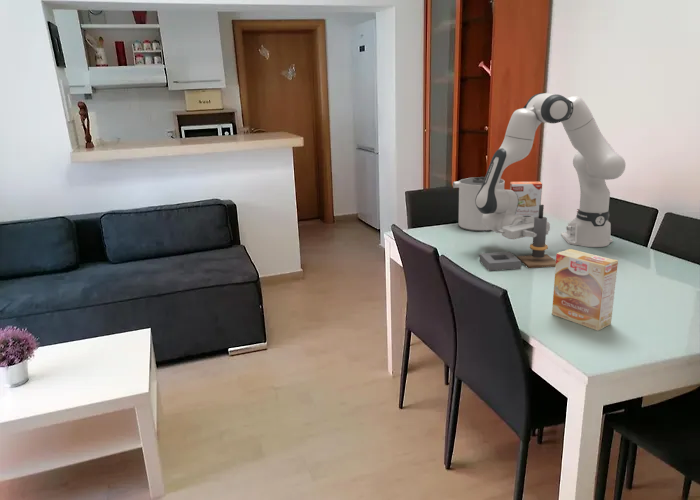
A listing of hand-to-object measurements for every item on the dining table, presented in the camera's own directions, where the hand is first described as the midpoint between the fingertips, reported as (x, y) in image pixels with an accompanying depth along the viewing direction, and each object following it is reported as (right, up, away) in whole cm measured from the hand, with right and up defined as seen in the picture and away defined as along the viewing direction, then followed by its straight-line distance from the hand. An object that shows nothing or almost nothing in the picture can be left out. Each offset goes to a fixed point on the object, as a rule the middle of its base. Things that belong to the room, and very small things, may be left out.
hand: (541, 233), depth 200 cm
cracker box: (+12, +6, +56) cm, 58 cm away
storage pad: (0, -11, +4) cm, 12 cm away
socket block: (-15, -12, +4) cm, 19 cm away
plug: (0, -8, +3) cm, 9 cm away
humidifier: (-10, +6, +59) cm, 60 cm away
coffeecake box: (-5, -27, -45) cm, 52 cm away
